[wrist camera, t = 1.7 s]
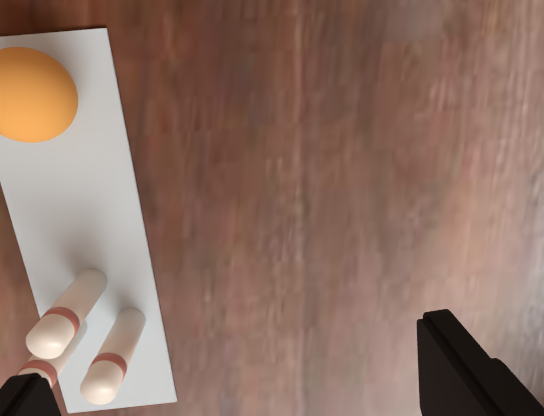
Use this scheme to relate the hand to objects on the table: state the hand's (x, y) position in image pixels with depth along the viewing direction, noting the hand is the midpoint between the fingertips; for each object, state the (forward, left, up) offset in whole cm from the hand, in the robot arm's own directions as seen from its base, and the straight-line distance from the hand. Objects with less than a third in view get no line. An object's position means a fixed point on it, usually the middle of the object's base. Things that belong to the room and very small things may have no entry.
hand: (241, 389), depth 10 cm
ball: (-7, -14, -20) cm, 26 cm away
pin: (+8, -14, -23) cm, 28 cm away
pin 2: (+12, -11, -23) cm, 28 cm away
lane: (+5, -14, -23) cm, 27 cm away
